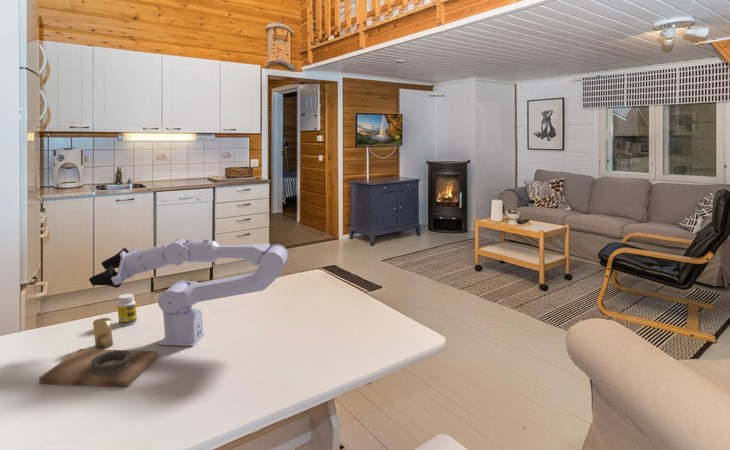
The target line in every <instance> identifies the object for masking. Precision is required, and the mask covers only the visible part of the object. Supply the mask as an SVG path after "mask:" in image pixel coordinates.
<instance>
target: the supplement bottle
mask: <svg viewBox="0 0 730 450" xmlns="http://www.w3.org/2000/svg"><path fill="white" fill-rule="evenodd" d="M117 298H118V303H117V312H118V313H117V314H118V316H117V317H118V324H119V325H120V326H132V325H134V324H136V322H137V321H138V318H137V304H136V303H137V302H136V300H135V297H134V294H132V293H125V294H120V295H119V296H118V297H117Z"/></svg>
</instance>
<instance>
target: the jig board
mask: <svg viewBox="0 0 730 450" xmlns="http://www.w3.org/2000/svg"><path fill="white" fill-rule="evenodd" d="M158 357H159V351H157V350H156V351H155V350H153V351H152V350H128V349H127V350H125V349H124V350H122V349H96V348H79V349H78V350H76V351H75V352H74V353H72V354H70V355H69V356H68V357H66V358H65V359H64V360H62V361H61V362H59V363H58V364H56V365H55V366H54V367H52V368H51V369H50V370H48V371H46V372H45V373H44V374H42V375H41V376H39V377H38V381H39V384H40V385H62V386H84V387H85V386H89V387H111V388H112V387H113V388H129V386H130V385H131V384H133V383H134V381H135V380H136V379H138V378H139V377H140V376H141V375H142V373H144V371H146V370H147V368H148V367H150V366H151V364H152V363H154V361H156V360H157V359H158Z"/></svg>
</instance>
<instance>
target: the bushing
mask: <svg viewBox="0 0 730 450" xmlns="http://www.w3.org/2000/svg"><path fill="white" fill-rule="evenodd" d="M92 325H93V336H94V337H93V338H94V345H95V346H94V347H95V349H102V350H107V349H108V348H111V347H113V345H114V342H113V341H114V340H113V331H112V319H111V318H110V317H101V318H98V319H95V320H93V321H92Z"/></svg>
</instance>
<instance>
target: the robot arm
mask: <svg viewBox="0 0 730 450" xmlns="http://www.w3.org/2000/svg"><path fill="white" fill-rule="evenodd" d="M219 259H238V260H239V259H240V260H243V259H244V260H249V261H250V262H251V264H253V265H254V266H255V267H257V265H258V267H257V269H256V271H255V272H252V273H251V272H250V273H246V274H241V275H235V276H227V277H224V278H218V279H211V280H206V281H202V282H198V281H196V280H194V281H188V280H183V279H181V280H177V281H175V282H174V283H173V284H172V285H171V286H170V287H169V288H166V290H165V291H162V293H160V294H159V296H158V299H157V303H158V307H159V308H160V310H161V311H162V312H163V313H162V314H163V315H162V316H163V328H164V338H162V340H160V341H159V342H158V345H159V346H175V347H176V346H181V347H182V346H183V347H194V346H195V345H196V344H197V343H198V341H200V339H201V338H202V337H203V336H204V335H205V332H204V325H203V324H204V323H203V312H202V310H201V309H199V308H198V309H197V308H194V307H192V306H194V305H196V304H197V303H200V302H201V303H202V302H206V301H212V300H218V299H222V298H228V297H229V298H230V297H234V296H235V297H236V296H240V295H245V294H251V293H256V292H262V291H265V290H266V289H267V288H268V287H269V286H270V285H271V284H272V283H273V282H275V281H276V280H277V279H278V278H279V277H280V276H281V273H282V271H283V269H284V268H285V267H286V264H287V262H288V260H289V251H288V250H287V248H286V247H285V246H284V245H281V244H272V245H271V243H249V244H248V243H247V244H246V243H244V244H224V245H223V244H222V245H221V244H219V242H217V241H216V240H211V238H208V237H207V238H204V239H203V240H192V239H191V238H186V239H184V238H177V239H175V240H174V241H173V242H171V243H167V244H165V243H164V244H162V245H157V246H153V247H149V248H145V249H142V250H140V249H139V248H138V247H136V248H133V249H132V248H131V250H130V251H129V250H128V248H126V247H123V248H122V249H121V250H120V251H119V252H117V253H116V254H114V255H113V256H111V257H108V258H107V259H105V260H103V261H102V262H101V263H100V264H101V266H102V267H103V269H104V271H102V272H100V273H97V274H95V275H93V276H91V277H89V278H88V281H89V282H90V284H91V285H92V286H105V287H107V286H108V287H113V288H115V289H117V288H120V287H121V285H122V284H123V283H124V282H125V281H126V280H128V279H130V278H132V277H134V276H135V275H137V274H138V275H139V274H141V273H145V272H149V271H150V272H151V271H153V270H156V269H160V268H164V267H166V266H169V265H174V266H180V265H182V264H184V263H185V262H187V263H215V262H216V261H218V260H219ZM117 268H118V269H117ZM116 269H117V271H116Z"/></svg>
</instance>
